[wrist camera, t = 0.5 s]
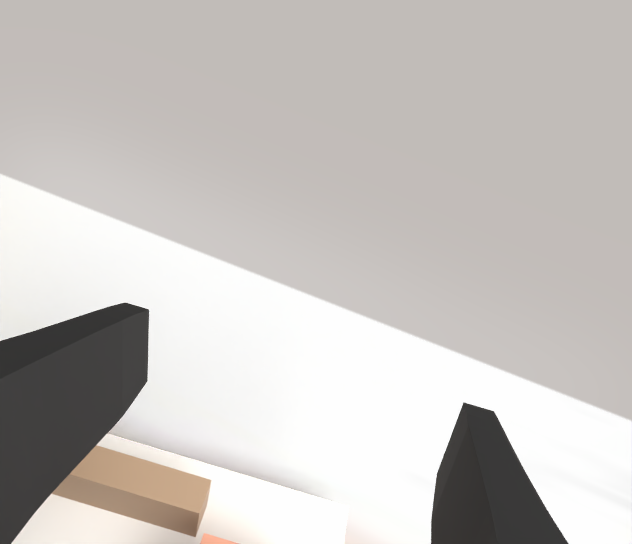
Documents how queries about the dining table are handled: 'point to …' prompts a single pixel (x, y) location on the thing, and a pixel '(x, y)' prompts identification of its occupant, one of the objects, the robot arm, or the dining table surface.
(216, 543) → the block
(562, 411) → the dining table surface
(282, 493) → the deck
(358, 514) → the dining table surface
